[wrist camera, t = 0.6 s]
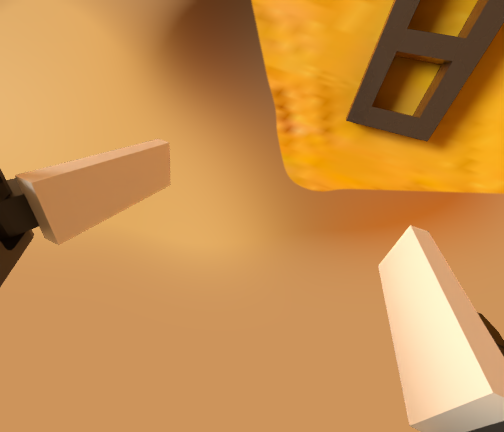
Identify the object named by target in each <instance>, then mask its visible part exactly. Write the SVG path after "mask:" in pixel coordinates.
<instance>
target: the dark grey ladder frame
mask: <svg viewBox="0 0 504 432" xmlns="http://www.w3.org/2000/svg"><path fill="white" fill-rule="evenodd" d="M419 2H420V0H394V2H393V5H392V7H391V10H390V12H389V14H388V17H387V19H386V22H385V24H384V27H383V29H382V32H381V34H380V37H379V39H378V41H377V44H376V46H375V49H374V51H373V54H372V56H371V59H370V61H369V63H368V66H367V68H366V71H365V73H364V76H363V78H362V81H361V83H360V86H359V88H358V90H357V93H356V95H355V98H354V100H353V103H352V105H351V108H350V110H349V112H348V115H347V117H346V121H350V122H354V123H358V124H361V125H365V126H369V127H373V128H377V129H381V130H385V131H389V132H393V133H396V134H400V135H404V136H408V137H412V138H416V139H420V140H424V141H428V140H429V138H430V136H431V135H432V133H433V132H434V130H435V129H436V127H437V126H438V124H439V122H440V121H441V119H442V118H443V116H444V115H445V113H446V112H447V110H448V108H449V107H450V105H451V104H452V102H453V101H454V99H455V98H456V96H457V94H458V93H459V91H460V90H461V88H462V87H463V85H464V84H465V82H466V80H467V79H468V77H469V76H470V74H471V73H472V71H473V70H474V68H475V66H476V65H477V63H478V62H479V60H480V59H481V57H482V56H483V54H484V52H485V51H486V49H487V48H488V46H489V45H490V43H491V42H492V40H493V38H494V37H495V35H496V34H497V32H498V31H499V29H500V27H501V26H502V24H503V23H504V0H478V2H477V3H476V5H475V7H474V9H473V10H472V12H471V14H470V16H469V18H468V19H467V21H466V23H465V25H464V26H463V28H462V30H461V32H460V33H459V35H458V37H455V36H449V35H443V34H436V33H430V32H424V31H418V30H412V29H407V28H408V26H409V23H410V21H411V19H412V17H413V15H414V12H415V10H416V8H417V6H418V4H419ZM394 56H398V57H404V58H409V59H414V60H420V61H425V62H430V63H436V64H441V67H440V69H439V70H438V72H437V74H436V76H435V77H434V79H433V81H432V83H431V85H430V86H429V88H428V90H427V92H426V93H425V95H424V97H423V99H422V100H421V102H420V104H419V106H418V107H417V109H416V111H415V113H414V114H413V116H411V115H406V114H402V113H398V112H394V111H390V110H385V109H381V108H377V107H373V106H372V104H373V102H374V100H375V98H376V96H377V93H378V91H379V89H380V87H381V85H382V82H383V80H384V78H385V76H386V74H387V72H388V69H389V67H390V65H391V63H392V61H393V58H394Z"/></svg>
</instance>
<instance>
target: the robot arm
mask: <svg viewBox="0 0 504 432" xmlns="http://www.w3.org/2000/svg"><path fill="white" fill-rule="evenodd" d="M15 177H16V178H15V179H10V180H6V179H5V177H4V175H3V173H2V171H1V169H0V287H1V285H2V283H3V282H4V281H5V279H6V278H7V276H8V275H9V273H10V272H11V270H12V269H13V267H14V266H15V264H16V263H17V261H18V260H19V258H20V257H21V255H22V253H23V252H24V250H25V249H26V248H27V246H28V245H29V243H30V242H31V240H32V239H33V236H34V233H33V232H32V230H31V229H33V228H36V227H38V226H39V227H40V228H41V231H42V233H43V235H44V237H45V238H46V239H48V240H50V241H52V242H54V243H56V244H58V245H60V244H62V243H63V242H65V241H67V240H69V239H71V238H73V237H74V236H76V235H78V234H80V233H82V232H84V231H85V230H88V229H89V228H91V227H93V226H95V225H97V224H99V223H100V222H102V221H104V220H106V219H108V218H110V217H112V216H114V215H116V214H117V213H119V212H121V211H123V210H125V209H127V208H128V207H130V206H132V205H134V204H136V203H138V202H140V201H142V200H143V199H145V198H147V197H149V196H151V195H153V194H155V193H156V192H158V191H160V190H162V189H164V188H166V187H167V186H169V185H170V155H169V143H168V142H166V141H163V140H160V139H156V140H152V141H148V142H144V143H140V144H136V145H132V146H128V147H124V148H120V149H116V150H112V151H108V152H105V153H101V154H97V155H93V156H89V157H85V158H81V159H77V160H73V161H69V162H65V163H61V164H58V165H54V166H49V167H46V168H42V169H38V170H34V171H30V172H26V173H22V174H18V175H15ZM378 267H379V272H380V276H381V282H382V287H383V292H384V297H385V302H386V308H387V313H388V318H389V323H390V328H391V333H392V338H393V343H394V349H395V354H396V359H397V363H398V368H399V374H400V379H401V384H402V390H403V394H404V400H405V405H406V410H407V415H408V420H409V425H410V426H411V427H413V428H415V429H417V430H419V431H421V432H504V340H503V339H502V337H501V336H500V334H499V332H498V331H497V330H496V329H495V328H494V327H493V326H492V325H491V324H490V322H489V321H488V320H487V319H486V318H485V317H484V316H483V315H482V314H480V313H478V312H476V310H475V308H474V307H473V305H472V303H471V301H470V300H469V298H468V296H467V295H466V293H465V292H464V290H463V288H462V286H461V285H460V283H459V281H458V280H457V278H456V276H455V275H454V273H453V271H452V270H451V268H450V267H449V265H448V263H447V262H446V260H445V258H444V257H443V255H442V253H441V252H440V250H439V248H438V247H437V245H436V243H435V242H434V240H433V238H432V237H431V235H430V233H429V232H428V231H426V230H423V229H420V228H417V227H414V226H411V225H410V226H409V228H408V229H407V230H406V231H405V233H404V234H403V235H402V237H401V238H400V239H399V240H398V241H397V243H396V244H395V245H394V247H393V248H392V249H391V250H390V252H389V253H388V254H387V255H386V257H385V258H384V259H383V261H382V262H381V263H380V264H379V266H378Z"/></svg>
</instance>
